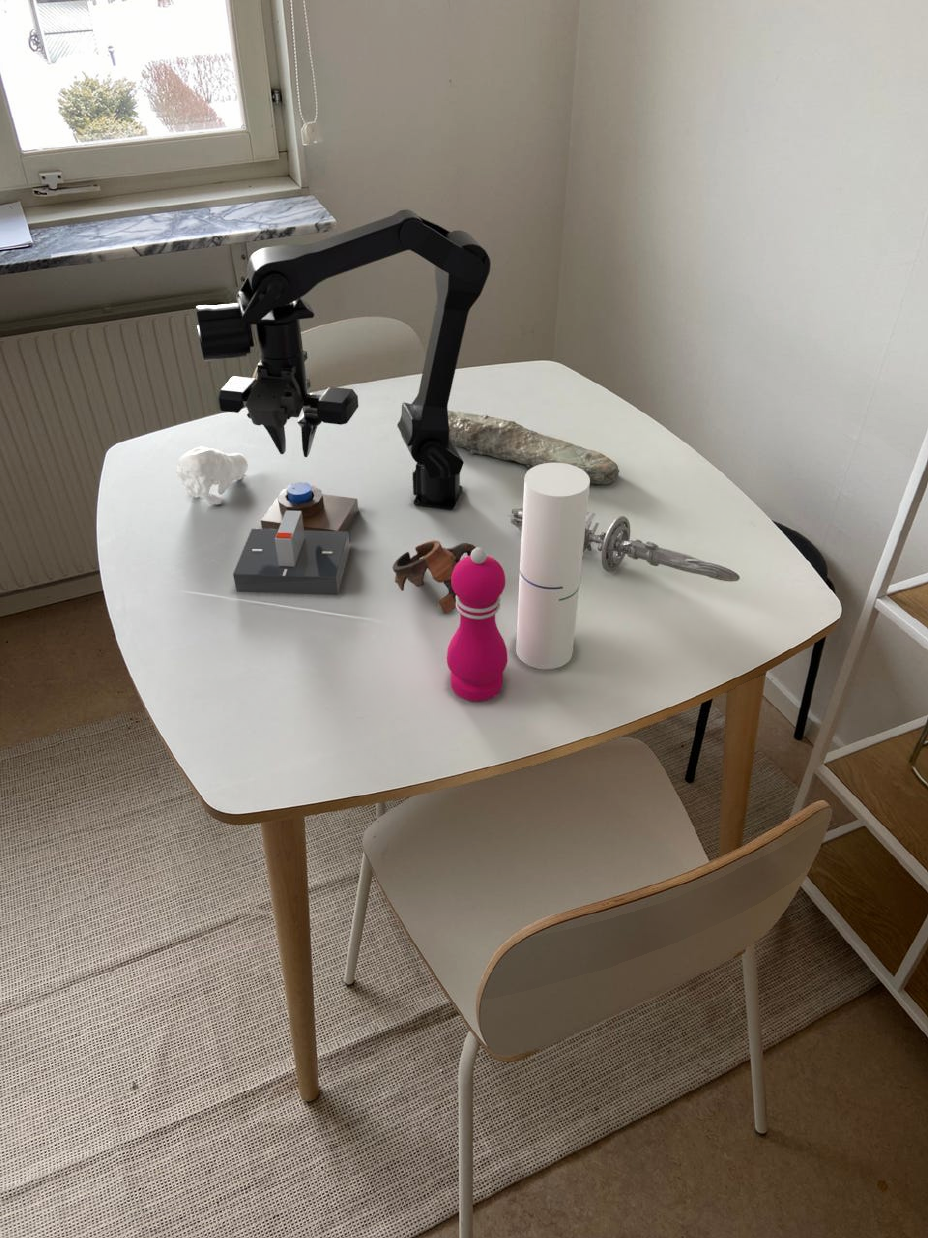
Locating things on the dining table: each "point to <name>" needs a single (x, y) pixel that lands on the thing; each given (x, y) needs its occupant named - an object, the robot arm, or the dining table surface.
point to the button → (299, 492)
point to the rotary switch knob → (290, 538)
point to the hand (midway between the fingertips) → (294, 454)
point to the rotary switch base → (311, 573)
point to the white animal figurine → (210, 472)
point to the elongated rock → (525, 445)
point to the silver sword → (639, 550)
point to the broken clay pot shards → (432, 567)
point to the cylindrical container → (550, 563)
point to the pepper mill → (477, 628)
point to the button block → (314, 512)
